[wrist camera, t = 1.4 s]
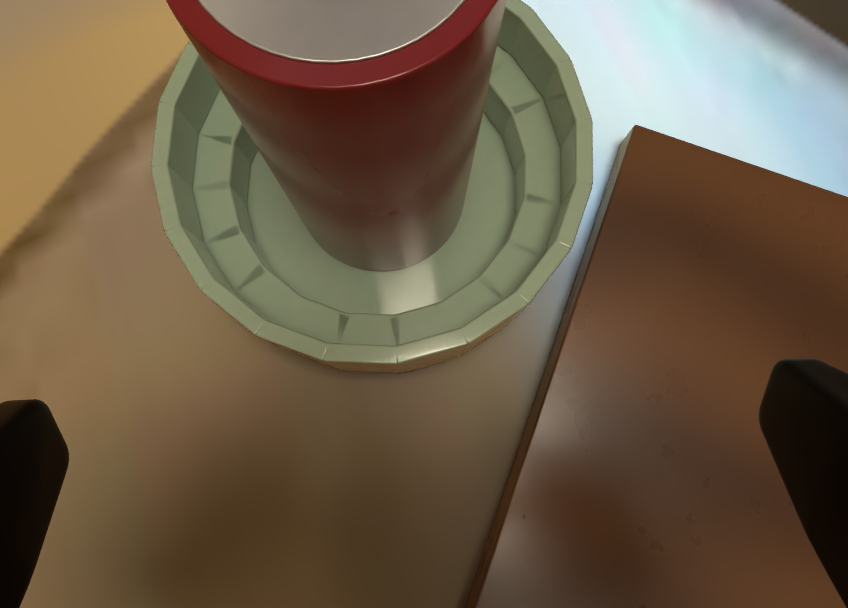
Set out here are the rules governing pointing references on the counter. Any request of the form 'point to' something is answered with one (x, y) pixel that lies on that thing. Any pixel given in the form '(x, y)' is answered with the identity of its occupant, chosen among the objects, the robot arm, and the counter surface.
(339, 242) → the drink can
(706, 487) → the cutting board
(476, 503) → the counter surface
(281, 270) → the bowl
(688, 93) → the counter surface
